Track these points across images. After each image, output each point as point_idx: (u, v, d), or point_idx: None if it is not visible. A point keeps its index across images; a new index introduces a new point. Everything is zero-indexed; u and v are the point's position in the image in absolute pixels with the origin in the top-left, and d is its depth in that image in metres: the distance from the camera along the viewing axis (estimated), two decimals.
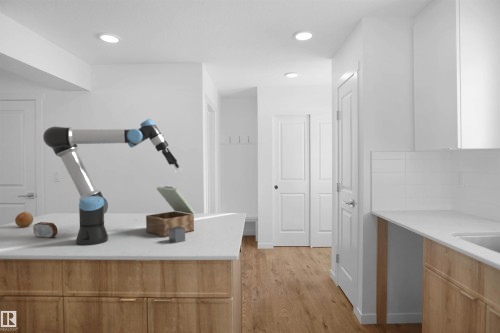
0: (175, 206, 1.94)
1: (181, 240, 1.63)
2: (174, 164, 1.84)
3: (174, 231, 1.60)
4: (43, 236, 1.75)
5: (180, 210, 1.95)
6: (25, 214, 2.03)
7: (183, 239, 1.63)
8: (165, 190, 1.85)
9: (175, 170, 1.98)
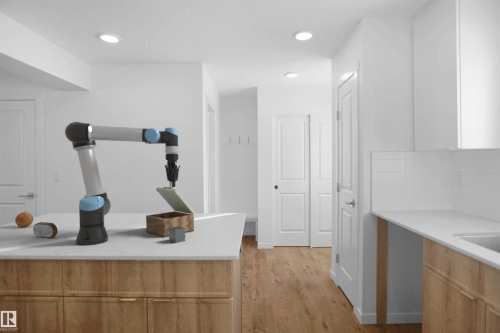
0: (175, 206, 1.94)
1: (181, 240, 1.63)
2: None
3: (174, 231, 1.60)
4: (43, 236, 1.75)
5: (180, 210, 1.95)
6: (25, 214, 2.03)
7: (183, 239, 1.63)
8: (164, 191, 1.85)
9: None
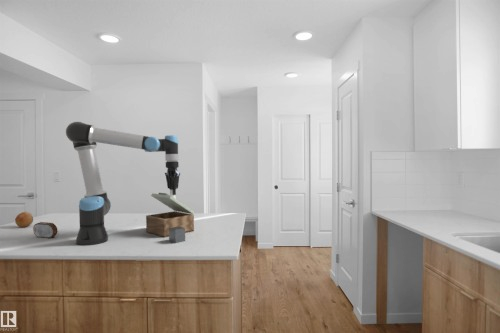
0: (174, 208, 1.94)
1: (181, 240, 1.63)
2: (172, 190, 1.86)
3: (174, 231, 1.60)
4: (43, 236, 1.75)
5: (180, 211, 1.95)
6: (25, 214, 2.03)
7: (183, 239, 1.63)
8: (160, 197, 1.82)
9: None
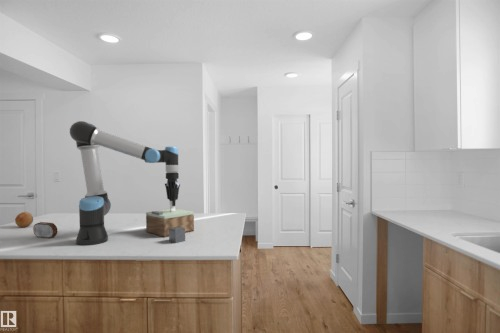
0: None
1: (181, 240, 1.63)
2: None
3: (174, 231, 1.60)
4: (43, 236, 1.75)
5: None
6: (25, 214, 2.03)
7: (183, 239, 1.63)
8: (155, 216, 1.80)
9: None
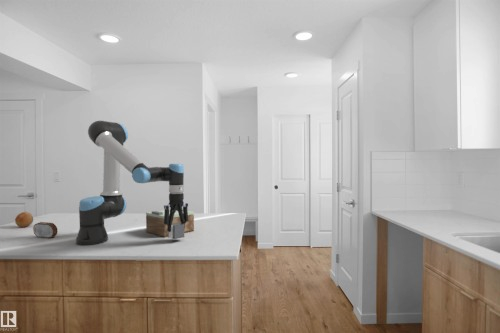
0: None
1: (180, 236, 1.63)
2: None
3: (173, 227, 1.61)
4: (43, 236, 1.75)
5: None
6: (25, 214, 2.03)
7: (182, 235, 1.64)
8: (155, 216, 1.80)
9: None
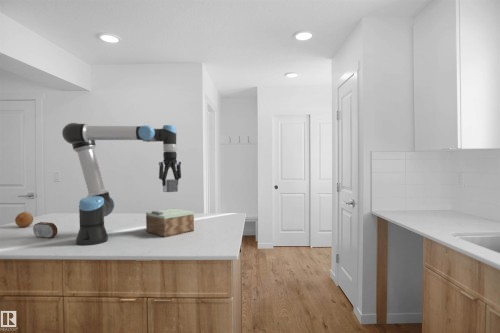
0: None
1: (174, 190, 1.81)
2: None
3: (167, 181, 1.79)
4: (43, 236, 1.75)
5: None
6: (25, 214, 2.03)
7: (176, 189, 1.82)
8: (155, 216, 1.80)
9: None
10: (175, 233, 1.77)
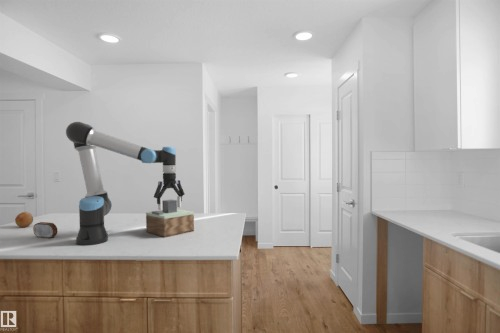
0: None
1: (173, 211, 1.85)
2: None
3: (167, 202, 1.82)
4: (43, 236, 1.75)
5: None
6: (25, 214, 2.03)
7: (175, 210, 1.86)
8: (155, 216, 1.80)
9: (178, 204, 1.91)
10: (175, 233, 1.77)
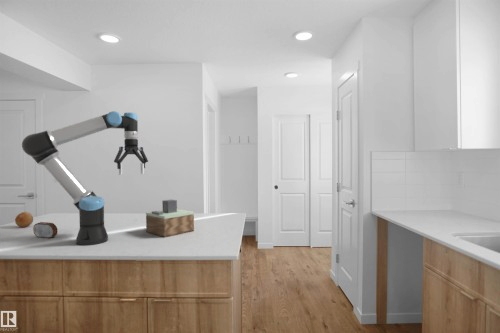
0: None
1: (173, 211, 1.85)
2: None
3: (167, 202, 1.82)
4: (43, 236, 1.75)
5: None
6: (25, 214, 2.03)
7: (175, 210, 1.86)
8: (155, 216, 1.80)
9: (141, 170, 1.91)
10: (175, 233, 1.77)
